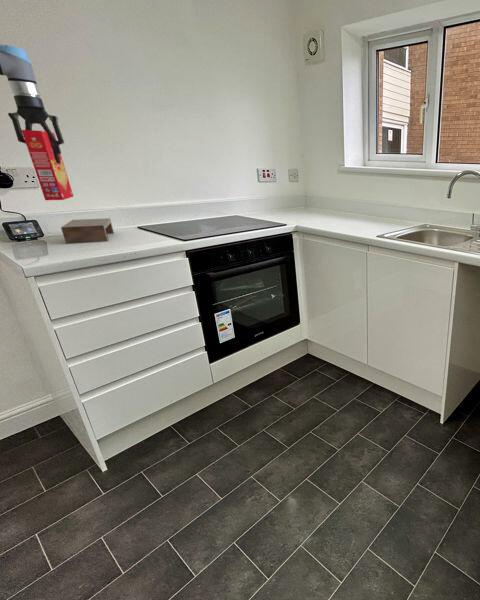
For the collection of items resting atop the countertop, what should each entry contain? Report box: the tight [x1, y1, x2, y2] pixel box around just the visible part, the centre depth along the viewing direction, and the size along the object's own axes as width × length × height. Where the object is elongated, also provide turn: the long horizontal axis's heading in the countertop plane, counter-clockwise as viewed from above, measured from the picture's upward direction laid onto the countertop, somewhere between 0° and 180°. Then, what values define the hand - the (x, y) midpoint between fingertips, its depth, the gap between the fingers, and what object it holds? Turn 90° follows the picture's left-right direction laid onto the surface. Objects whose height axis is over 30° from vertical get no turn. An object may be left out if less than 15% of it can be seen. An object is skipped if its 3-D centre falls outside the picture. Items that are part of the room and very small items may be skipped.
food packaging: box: [21, 129, 74, 201], centre depth 140 cm, size 15×5×25 cm, turn 28°
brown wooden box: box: [60, 217, 115, 245], centre depth 160 cm, size 14×22×7 cm, turn 31°
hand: (48, 162), depth 139 cm, fingers closed on food packaging, 5 cm apart
